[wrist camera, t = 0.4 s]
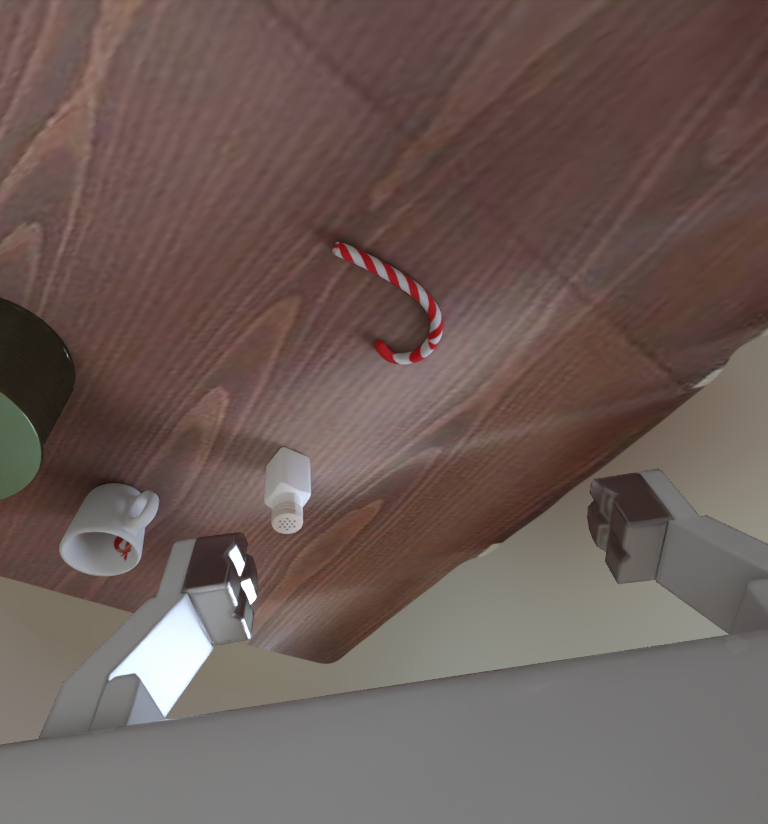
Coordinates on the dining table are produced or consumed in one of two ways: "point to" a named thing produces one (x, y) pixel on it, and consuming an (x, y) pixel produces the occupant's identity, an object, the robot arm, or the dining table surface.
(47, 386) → the tin
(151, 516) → the cup
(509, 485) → the dining table surface
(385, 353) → the candy cane
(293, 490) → the pepper shaker
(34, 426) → the tin lid
